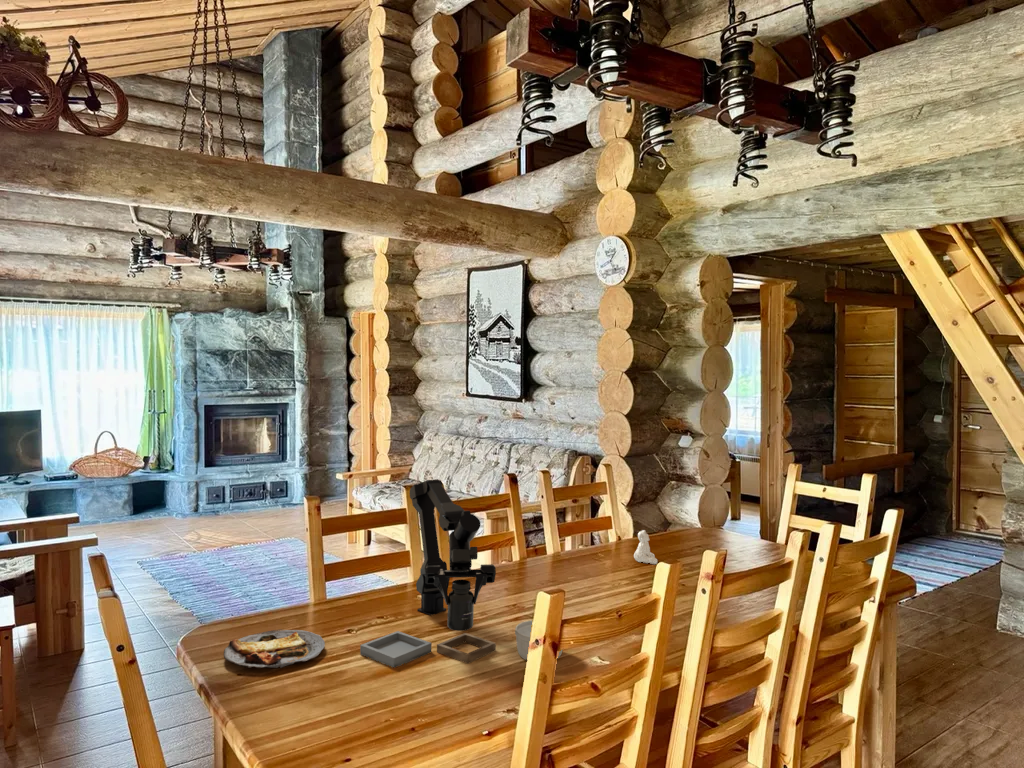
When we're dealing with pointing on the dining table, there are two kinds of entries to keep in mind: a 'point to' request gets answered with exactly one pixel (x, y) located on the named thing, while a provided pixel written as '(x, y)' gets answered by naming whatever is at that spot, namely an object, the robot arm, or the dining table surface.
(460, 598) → the supplement bottle
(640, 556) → the white creature statuette
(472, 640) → the walnut collar
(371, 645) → the grey tray
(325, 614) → the dining table surface
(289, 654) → the food plate
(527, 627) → the ramekin
